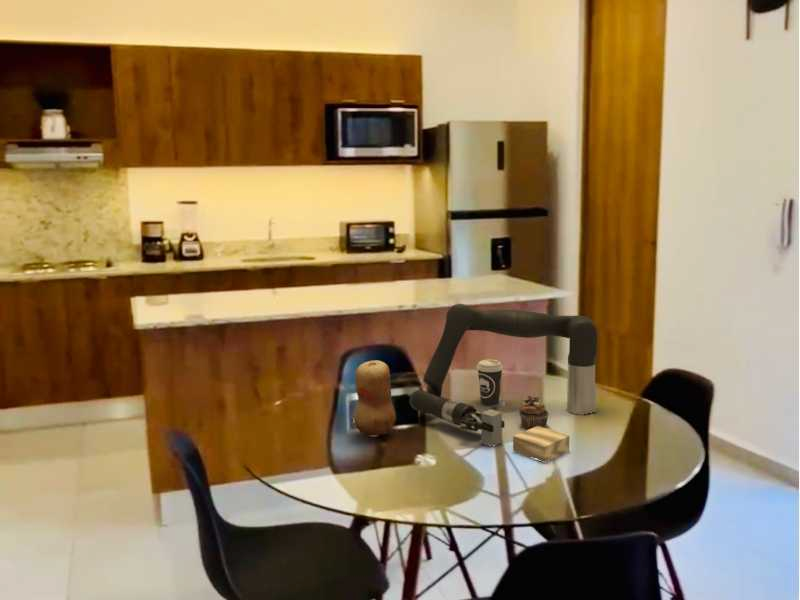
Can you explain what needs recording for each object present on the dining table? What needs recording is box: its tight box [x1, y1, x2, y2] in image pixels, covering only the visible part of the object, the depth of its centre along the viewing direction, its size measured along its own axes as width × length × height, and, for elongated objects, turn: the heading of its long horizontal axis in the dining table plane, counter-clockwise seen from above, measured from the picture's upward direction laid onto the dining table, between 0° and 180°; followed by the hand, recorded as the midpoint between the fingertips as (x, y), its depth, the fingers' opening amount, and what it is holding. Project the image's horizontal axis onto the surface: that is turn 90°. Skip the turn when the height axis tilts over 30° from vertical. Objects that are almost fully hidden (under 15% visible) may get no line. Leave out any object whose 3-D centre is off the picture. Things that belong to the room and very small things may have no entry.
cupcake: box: [518, 395, 550, 431], centre depth 255 cm, size 10×10×10 cm
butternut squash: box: [353, 359, 397, 436], centre depth 249 cm, size 14×13×25 cm
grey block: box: [481, 409, 503, 447], centre depth 242 cm, size 4×4×10 cm
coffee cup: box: [476, 359, 504, 406], centre depth 279 cm, size 10×10×15 cm
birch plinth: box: [512, 426, 570, 463], centre depth 235 cm, size 12×12×5 cm
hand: (498, 426), depth 240 cm, fingers closed on grey block, 4 cm apart
